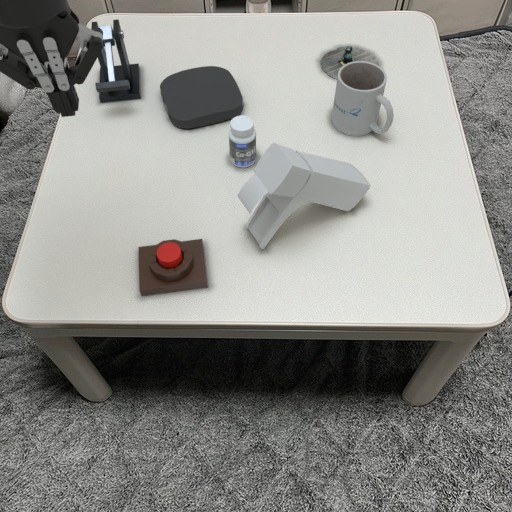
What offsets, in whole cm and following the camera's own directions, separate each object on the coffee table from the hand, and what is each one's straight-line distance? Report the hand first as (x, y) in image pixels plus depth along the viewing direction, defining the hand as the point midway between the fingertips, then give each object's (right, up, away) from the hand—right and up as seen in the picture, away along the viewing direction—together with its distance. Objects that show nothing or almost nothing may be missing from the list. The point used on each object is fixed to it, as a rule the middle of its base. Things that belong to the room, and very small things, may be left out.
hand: (69, 111), depth 61 cm
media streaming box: (+11, +14, +42) cm, 46 cm away
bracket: (-6, +18, +45) cm, 49 cm away
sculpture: (+42, +23, +48) cm, 68 cm away
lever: (-5, +20, +37) cm, 42 cm away
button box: (+9, -19, +20) cm, 29 cm away
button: (+9, -17, +17) cm, 26 cm away
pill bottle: (+20, +1, +33) cm, 38 cm away
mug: (+42, +8, +38) cm, 57 cm away
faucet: (+30, -11, +25) cm, 41 cm away
